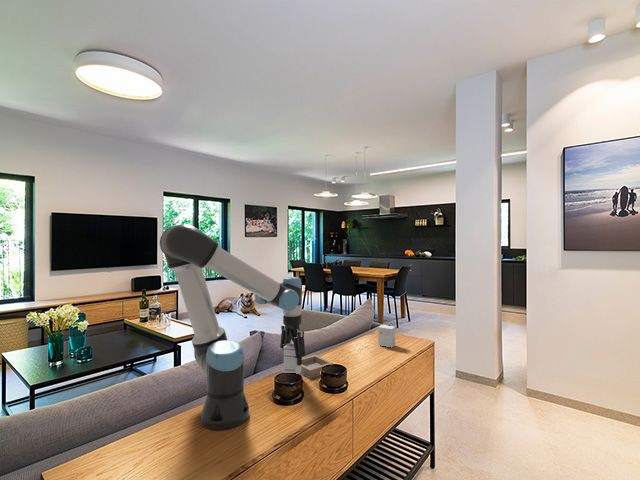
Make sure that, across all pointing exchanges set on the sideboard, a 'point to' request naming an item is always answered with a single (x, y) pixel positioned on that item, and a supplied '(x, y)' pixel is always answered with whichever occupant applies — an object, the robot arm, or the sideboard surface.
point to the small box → (386, 336)
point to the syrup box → (289, 358)
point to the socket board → (313, 366)
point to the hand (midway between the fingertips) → (292, 369)
